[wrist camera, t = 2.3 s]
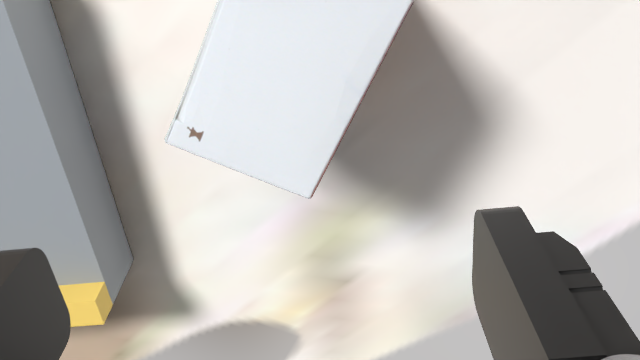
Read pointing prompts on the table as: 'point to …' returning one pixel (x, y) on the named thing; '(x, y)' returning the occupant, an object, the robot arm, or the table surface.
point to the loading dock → (55, 167)
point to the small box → (282, 84)
